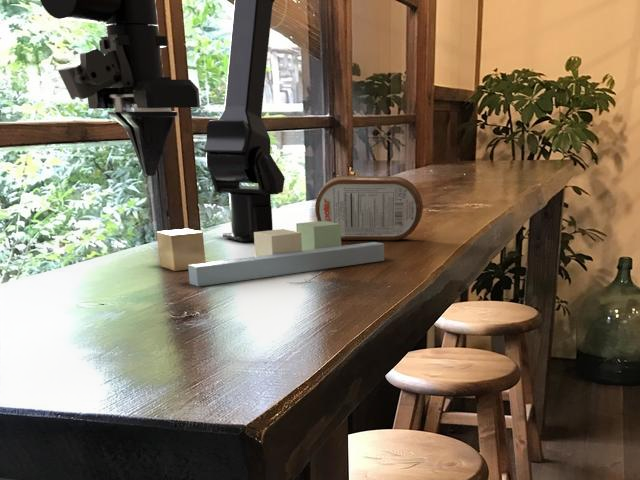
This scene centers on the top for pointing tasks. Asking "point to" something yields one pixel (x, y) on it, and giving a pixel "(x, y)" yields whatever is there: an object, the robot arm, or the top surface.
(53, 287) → the top surface
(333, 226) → the sage block
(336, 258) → the straightedge
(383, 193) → the tin
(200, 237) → the maple block
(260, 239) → the cream block
